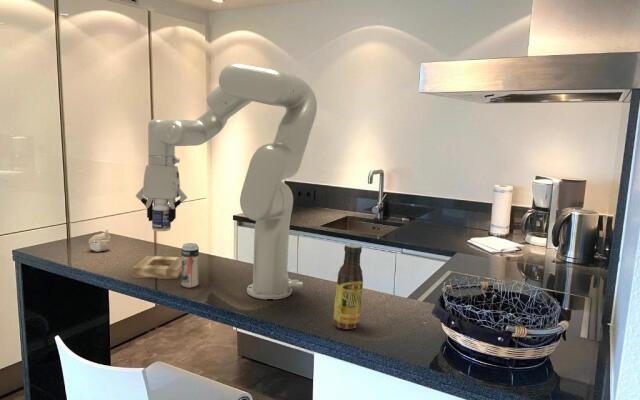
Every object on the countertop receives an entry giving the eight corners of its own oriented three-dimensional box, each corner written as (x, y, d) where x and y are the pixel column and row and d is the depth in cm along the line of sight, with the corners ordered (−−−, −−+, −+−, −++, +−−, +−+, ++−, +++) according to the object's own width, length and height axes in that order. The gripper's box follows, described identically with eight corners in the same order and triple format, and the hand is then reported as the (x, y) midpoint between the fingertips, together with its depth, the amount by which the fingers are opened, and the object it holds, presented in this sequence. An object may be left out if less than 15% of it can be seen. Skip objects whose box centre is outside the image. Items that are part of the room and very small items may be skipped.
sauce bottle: (339, 332, 109) (345, 249, 106) (328, 322, 115) (333, 242, 112) (364, 329, 112) (370, 247, 109) (352, 319, 117) (357, 241, 114)
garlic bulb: (98, 254, 161) (97, 231, 160) (85, 251, 164) (84, 229, 162) (113, 250, 167) (113, 228, 166) (101, 247, 170) (100, 225, 168)
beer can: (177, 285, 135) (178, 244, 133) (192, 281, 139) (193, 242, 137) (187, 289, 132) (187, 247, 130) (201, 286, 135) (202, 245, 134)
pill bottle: (165, 232, 141) (165, 200, 139) (148, 230, 142) (148, 198, 140) (174, 228, 146) (174, 197, 145) (158, 227, 147) (158, 196, 146)
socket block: (187, 266, 153) (187, 257, 152) (176, 279, 140) (177, 269, 139) (147, 264, 152) (147, 255, 152) (132, 277, 139) (132, 267, 139)
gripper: (193, 161, 145) (192, 219, 148) (137, 159, 144) (137, 217, 147) (187, 163, 138) (186, 224, 140) (127, 160, 137) (128, 222, 140)
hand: (161, 220), depth 144 cm, fingers closed on pill bottle, 5 cm apart
